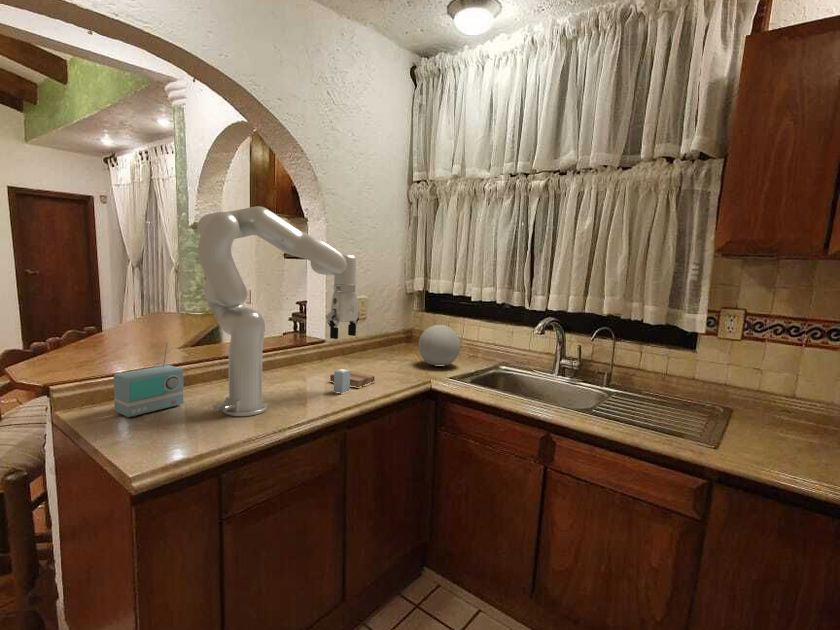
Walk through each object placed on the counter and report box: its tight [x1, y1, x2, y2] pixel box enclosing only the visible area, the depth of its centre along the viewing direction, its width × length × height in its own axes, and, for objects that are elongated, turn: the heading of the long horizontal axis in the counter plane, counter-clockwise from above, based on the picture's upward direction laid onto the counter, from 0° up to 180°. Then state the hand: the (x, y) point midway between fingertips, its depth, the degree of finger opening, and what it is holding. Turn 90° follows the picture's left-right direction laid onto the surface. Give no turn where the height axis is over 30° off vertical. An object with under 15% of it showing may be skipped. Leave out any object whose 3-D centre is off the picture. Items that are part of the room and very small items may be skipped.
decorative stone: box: [418, 324, 461, 366], centre depth 202 cm, size 20×20×20 cm
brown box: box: [329, 370, 375, 387], centre depth 167 cm, size 10×14×3 cm
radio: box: [113, 340, 184, 418], centre depth 126 cm, size 16×9×20 cm, turn 149°
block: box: [333, 368, 351, 393], centre depth 154 cm, size 4×4×8 cm
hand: (343, 336), depth 153 cm, fingers open, 9 cm apart
